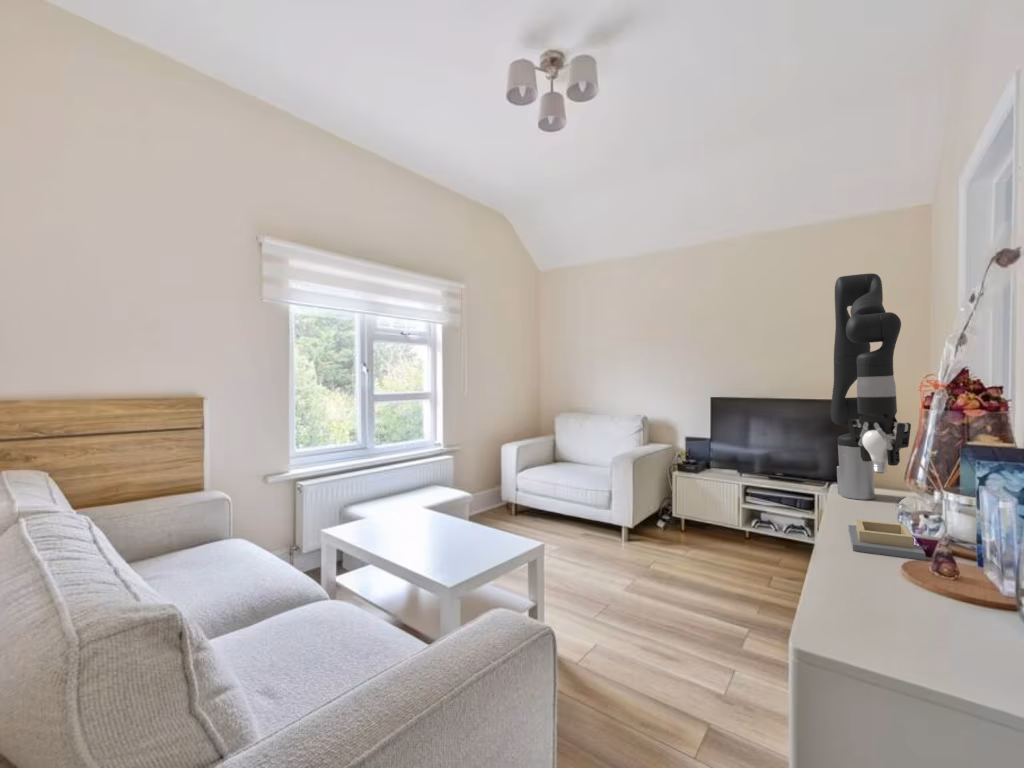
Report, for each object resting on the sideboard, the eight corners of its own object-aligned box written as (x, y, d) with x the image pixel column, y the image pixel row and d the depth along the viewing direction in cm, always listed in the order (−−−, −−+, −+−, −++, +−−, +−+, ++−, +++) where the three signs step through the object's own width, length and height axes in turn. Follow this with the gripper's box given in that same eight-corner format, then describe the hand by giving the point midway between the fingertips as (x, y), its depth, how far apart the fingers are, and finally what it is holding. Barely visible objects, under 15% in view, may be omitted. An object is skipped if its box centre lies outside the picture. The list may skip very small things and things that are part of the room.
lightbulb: (870, 475, 109) (868, 430, 109) (859, 470, 115) (856, 427, 115) (902, 476, 107) (900, 429, 107) (889, 470, 113) (886, 427, 114)
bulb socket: (848, 530, 122) (847, 515, 122) (912, 537, 115) (911, 521, 115) (853, 550, 108) (852, 534, 108) (925, 560, 101) (924, 542, 101)
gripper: (919, 394, 105) (923, 466, 105) (860, 393, 119) (864, 457, 119) (893, 396, 104) (897, 469, 104) (837, 395, 118) (840, 460, 118)
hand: (879, 462), depth 111 cm, fingers closed on lightbulb, 6 cm apart
